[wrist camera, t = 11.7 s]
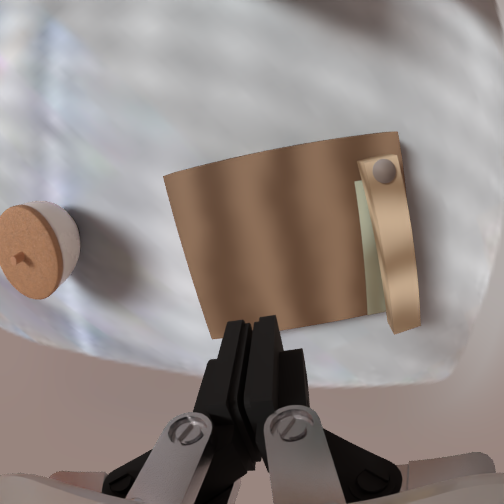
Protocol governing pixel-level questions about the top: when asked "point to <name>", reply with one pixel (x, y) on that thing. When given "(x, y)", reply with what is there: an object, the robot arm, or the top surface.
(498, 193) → the top surface
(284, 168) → the brown wooden flat board
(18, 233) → the lidded jar
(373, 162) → the oak leg
